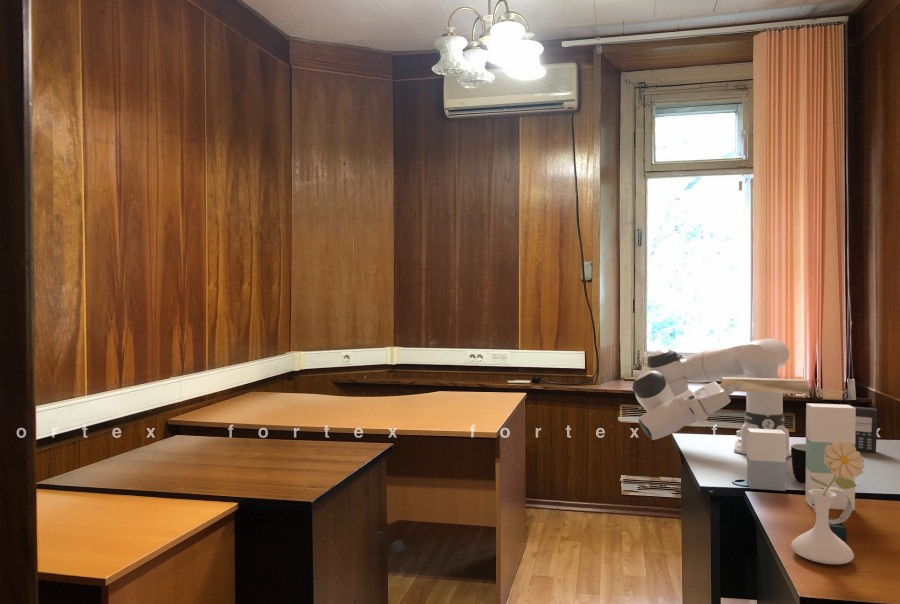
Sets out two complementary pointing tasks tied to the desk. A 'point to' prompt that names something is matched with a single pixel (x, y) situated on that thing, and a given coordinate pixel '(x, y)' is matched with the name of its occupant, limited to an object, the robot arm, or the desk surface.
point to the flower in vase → (820, 538)
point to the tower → (820, 432)
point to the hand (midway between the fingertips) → (738, 382)
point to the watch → (837, 524)
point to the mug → (799, 462)
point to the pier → (766, 459)
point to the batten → (768, 385)
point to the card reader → (866, 429)
